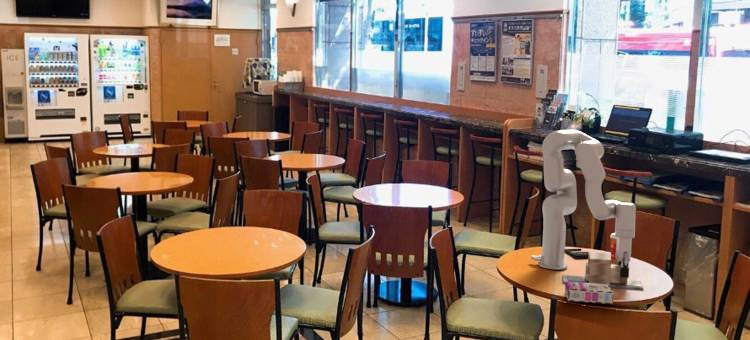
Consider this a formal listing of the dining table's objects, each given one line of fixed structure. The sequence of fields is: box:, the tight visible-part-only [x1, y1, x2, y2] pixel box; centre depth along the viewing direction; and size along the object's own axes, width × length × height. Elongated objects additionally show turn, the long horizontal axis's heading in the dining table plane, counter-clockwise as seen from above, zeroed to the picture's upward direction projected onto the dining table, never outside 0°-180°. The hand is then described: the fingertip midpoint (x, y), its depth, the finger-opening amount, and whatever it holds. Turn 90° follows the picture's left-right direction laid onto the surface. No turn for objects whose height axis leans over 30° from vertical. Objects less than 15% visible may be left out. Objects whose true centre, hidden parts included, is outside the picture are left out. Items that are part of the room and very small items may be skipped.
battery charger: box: [564, 248, 590, 260], centre depth 333 cm, size 13×10×4 cm
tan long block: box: [562, 251, 644, 291], centre depth 292 cm, size 31×12×12 cm, turn 77°
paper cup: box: [609, 232, 618, 264], centre depth 324 cm, size 8×8×14 cm
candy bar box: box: [564, 282, 614, 305], centre depth 271 cm, size 11×5×16 cm
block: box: [584, 262, 629, 284], centre depth 292 cm, size 16×6×6 cm, turn 77°
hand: (623, 274), depth 290 cm, fingers open, 9 cm apart
